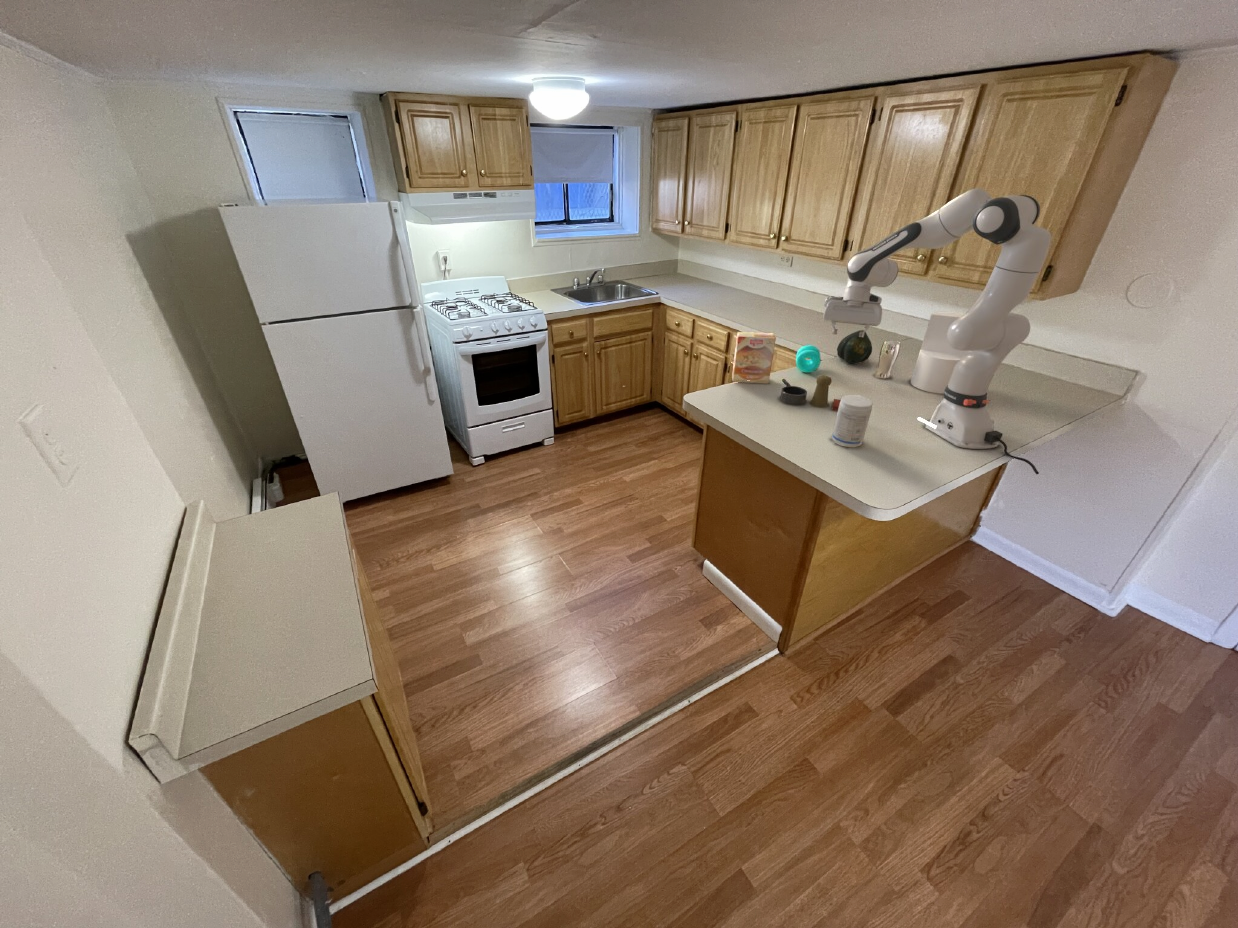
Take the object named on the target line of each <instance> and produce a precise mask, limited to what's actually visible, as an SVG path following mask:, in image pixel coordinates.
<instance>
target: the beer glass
mask: <svg viewBox="0 0 1238 928" xmlns="http://www.w3.org/2000/svg"><path fill="white" fill-rule="evenodd" d="M901 345H902V343H901V342H900V341H898V340H894V339H885V340H883V342H882V345H881V348H880V351H879V357H878V367H877V370H876V372H875V373H874V376H875V378H878V379H881V380H889V379H891V377H892V370H893V367H894V365H895V363H896V361H897V359H898V357H899V354H900V350H901Z"/></svg>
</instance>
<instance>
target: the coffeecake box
mask: <svg viewBox="0 0 1238 928" xmlns="http://www.w3.org/2000/svg"><path fill="white" fill-rule="evenodd" d="M776 341H777V337H776V335H775V333H774V332H755V331H753V332H752V331H747V332H746V331H737V332H736V341H735V346H734V347H735V348H734V349H735V350H734V356H733V364H732V372H731V378H732V379H731V380H732V382H733V383H743V382H742V381H745V382H744V383H749V384H750V383H752V384H769V383H770V378H771V377H770V376H771V371H772V366H773V359H774V354H775V353H774V352H775V347H776ZM747 380H750V381H747Z"/></svg>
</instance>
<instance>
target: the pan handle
mask: <svg viewBox="0 0 1238 928" xmlns="http://www.w3.org/2000/svg"><path fill="white" fill-rule="evenodd" d="M781 382H782V383H783V385H784V386H785V387H786V386H792V385H791V384H790V383H789V382H788V381H787V379H786V378H782V380H781Z"/></svg>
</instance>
